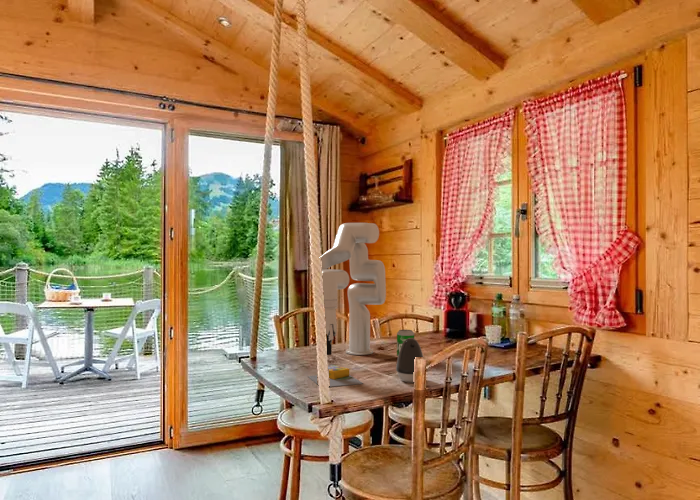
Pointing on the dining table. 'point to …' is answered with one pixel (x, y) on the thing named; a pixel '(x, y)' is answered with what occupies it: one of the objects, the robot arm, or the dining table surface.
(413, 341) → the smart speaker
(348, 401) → the dining table surface
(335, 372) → the crayon box
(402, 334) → the soda can
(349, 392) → the dining table surface
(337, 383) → the mat
